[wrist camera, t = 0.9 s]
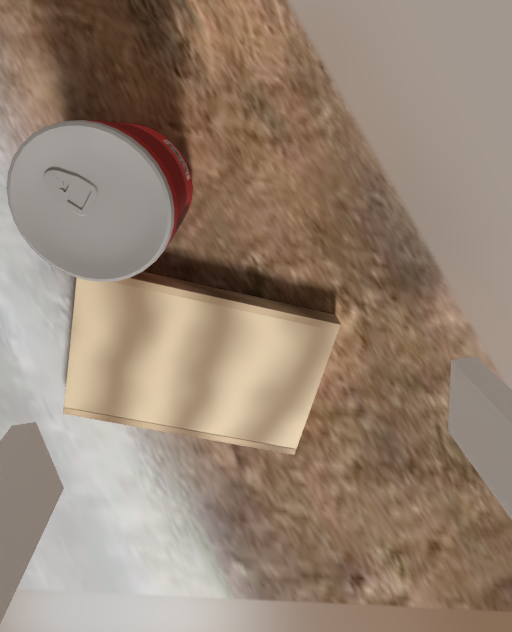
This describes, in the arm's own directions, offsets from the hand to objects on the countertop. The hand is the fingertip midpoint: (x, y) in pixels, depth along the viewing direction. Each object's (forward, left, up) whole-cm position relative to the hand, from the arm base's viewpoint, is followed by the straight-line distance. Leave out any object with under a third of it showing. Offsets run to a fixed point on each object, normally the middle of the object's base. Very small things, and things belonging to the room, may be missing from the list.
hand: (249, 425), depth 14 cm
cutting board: (-1, -10, -21) cm, 23 cm away
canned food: (-8, +3, -21) cm, 23 cm away
